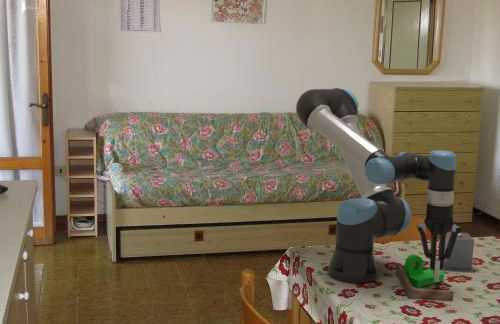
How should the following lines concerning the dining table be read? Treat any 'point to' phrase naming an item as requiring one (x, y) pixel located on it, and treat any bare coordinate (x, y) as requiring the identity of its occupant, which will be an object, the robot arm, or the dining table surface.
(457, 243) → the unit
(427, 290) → the bay
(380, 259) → the dining table surface
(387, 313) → the dining table surface
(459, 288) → the dining table surface
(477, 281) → the dining table surface
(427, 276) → the mechanical part
